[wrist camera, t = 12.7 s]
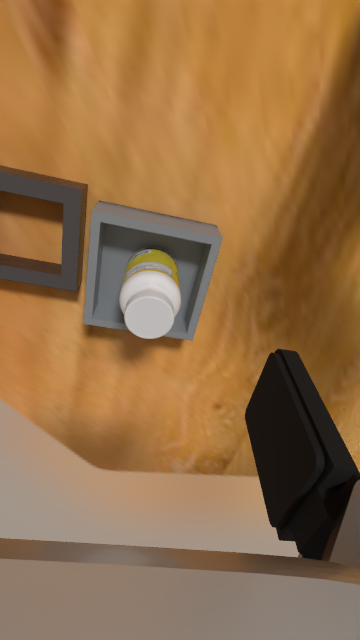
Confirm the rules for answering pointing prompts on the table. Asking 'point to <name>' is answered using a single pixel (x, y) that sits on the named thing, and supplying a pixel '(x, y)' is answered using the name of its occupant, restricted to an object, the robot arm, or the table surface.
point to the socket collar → (73, 230)
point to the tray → (136, 233)
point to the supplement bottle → (150, 292)
